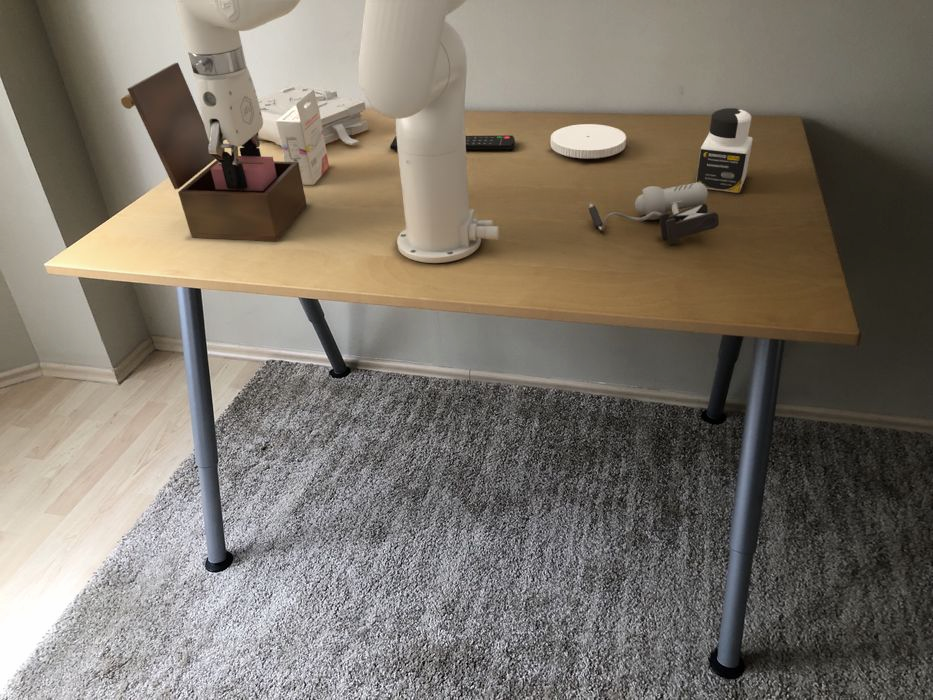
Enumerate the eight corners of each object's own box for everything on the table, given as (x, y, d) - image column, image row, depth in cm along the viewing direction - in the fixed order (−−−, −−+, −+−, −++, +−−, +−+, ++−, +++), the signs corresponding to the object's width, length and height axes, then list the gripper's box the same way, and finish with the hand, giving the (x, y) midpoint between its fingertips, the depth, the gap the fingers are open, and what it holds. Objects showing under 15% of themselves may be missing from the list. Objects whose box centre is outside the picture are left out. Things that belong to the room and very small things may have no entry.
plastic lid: (625, 137, 142) (626, 124, 141) (625, 164, 131) (626, 150, 130) (553, 136, 145) (553, 123, 143) (547, 163, 134) (547, 149, 132)
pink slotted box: (277, 176, 117) (272, 156, 115) (263, 191, 113) (258, 169, 111) (231, 175, 119) (226, 154, 117) (215, 189, 114) (210, 168, 112)
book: (317, 164, 139) (310, 124, 135) (231, 136, 154) (222, 100, 150) (388, 134, 151) (384, 97, 146) (302, 111, 166) (296, 76, 161)
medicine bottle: (694, 188, 122) (705, 116, 115) (703, 172, 127) (713, 103, 120) (739, 193, 119) (752, 121, 112) (745, 177, 124) (758, 106, 117)
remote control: (396, 142, 146) (395, 136, 146) (515, 142, 143) (515, 135, 142) (391, 152, 142) (390, 145, 141) (513, 152, 139) (513, 145, 138)
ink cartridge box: (305, 166, 138) (290, 87, 130) (330, 167, 137) (316, 88, 129) (287, 185, 132) (270, 103, 123) (313, 185, 131) (298, 103, 122)
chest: (307, 205, 124) (298, 161, 119) (276, 241, 114) (266, 194, 109) (228, 202, 127) (216, 159, 122) (191, 237, 116) (177, 192, 112)
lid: (177, 62, 113) (147, 68, 115) (131, 87, 103) (99, 94, 104) (218, 156, 122) (189, 161, 123) (179, 188, 111) (148, 193, 113)
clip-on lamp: (596, 262, 109) (721, 239, 105) (588, 227, 105) (718, 201, 101) (592, 220, 118) (707, 197, 113) (585, 186, 114) (704, 161, 110)
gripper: (214, 79, 98) (245, 204, 108) (266, 46, 111) (288, 160, 122) (164, 78, 99) (198, 202, 110) (221, 46, 112) (247, 159, 123)
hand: (246, 178), depth 116 cm, fingers closed on pink slotted box, 5 cm apart
